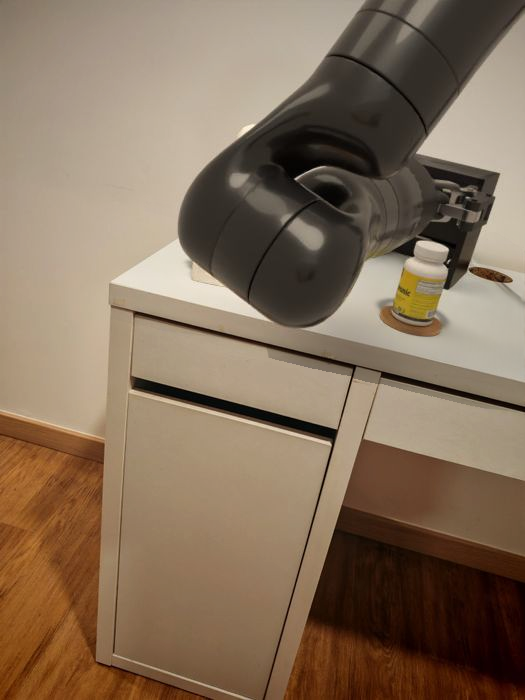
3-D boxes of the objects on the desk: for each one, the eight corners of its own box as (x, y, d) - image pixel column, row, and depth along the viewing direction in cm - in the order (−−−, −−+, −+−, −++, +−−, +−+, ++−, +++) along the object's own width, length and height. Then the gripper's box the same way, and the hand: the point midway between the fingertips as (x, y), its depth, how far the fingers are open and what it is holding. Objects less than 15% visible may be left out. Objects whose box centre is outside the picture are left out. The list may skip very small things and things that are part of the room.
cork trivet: (428, 313, 80) (430, 309, 80) (450, 339, 73) (451, 335, 73) (372, 306, 79) (374, 302, 79) (389, 332, 72) (390, 327, 72)
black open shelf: (448, 290, 91) (485, 179, 83) (322, 249, 99) (345, 145, 92) (466, 272, 101) (500, 173, 94) (351, 237, 110) (373, 143, 102)
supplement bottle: (386, 306, 78) (407, 235, 73) (426, 313, 78) (449, 243, 74) (394, 323, 73) (416, 248, 69) (436, 330, 73) (461, 256, 69)
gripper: (479, 178, 41) (514, 163, 54) (302, 136, 47) (372, 132, 60) (447, 278, 45) (487, 241, 58) (286, 227, 50) (355, 204, 63)
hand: (429, 185), depth 59 cm, fingers open, 8 cm apart
